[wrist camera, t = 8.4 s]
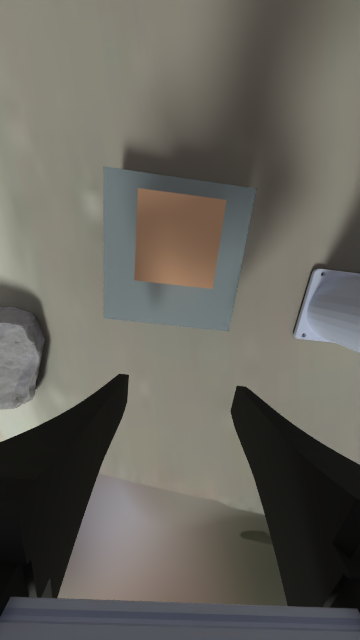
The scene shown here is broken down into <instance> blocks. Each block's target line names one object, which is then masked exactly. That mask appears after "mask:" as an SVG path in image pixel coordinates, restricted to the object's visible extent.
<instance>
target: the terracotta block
mask: <svg viewBox="0 0 360 640" xmlns="http://www.w3.org/2000/svg"><path fill="white" fill-rule="evenodd" d="M225 206H226V200H223V199H216V198H208V197H201V196H193V195H186V194H178V193H171V192H164V191H156V190H149V189H141V188H138V197H137V223H136V249H135V274H134V280H136V281H145V282H154V283H163V284H172V285H181V286H190V287H200V288H209V289H213V284H214V278H215V271H216V265H217V258H218V252H219V245H220V239H221V232H222V226H223V219H224V213H225Z"/></svg>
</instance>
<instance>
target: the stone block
mask: <svg viewBox="0 0 360 640" xmlns="http://www.w3.org/2000/svg"><path fill="white" fill-rule="evenodd" d="M44 343H45V337H44V336H43V333H42V331H41V328H40V326H39V324H38V321H37V319H36V317H35V316H34V314H33V313H31V312H29V311H24V310H21V309H19V308H16V307H12V306H9V307H0V409H14V408H17V407H19V406H20V405H21V404H25V403H26V402H28V401H30V400H32V399H33V397H34V395H35V388H36V379H37V377H38V373H39V366H40V364H41V357H42V354H43V346H44Z"/></svg>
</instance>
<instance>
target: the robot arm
mask: <svg viewBox="0 0 360 640" xmlns="http://www.w3.org/2000/svg"><path fill="white" fill-rule="evenodd" d="M321 273H323V275H322V276H321ZM303 333H304V335H303V336H302V334H303ZM294 337H296V338H298V339H306V340H316V341H326V342H335V343H337V344H339V345H342V346H344V347H347V348H349V349H351V350H354V351H356V352H359V353H360V274H359V273H351V272H343V271H335V270H327V269H315V270H313V272H312V274H311V278H310V281H309V284H308V288H307V291H306V294H305V298H304V301H303V304H302V308H301V311H300V314H299V318H298V321H297V324H296V328H295V331H294ZM128 379H129V375H126V374H119V375H117V376H116V377H115V378H113V379H112V380H111V381H109V382H108V383H107V384H106V385H104V386H103V387H102V388H100V389H99V390H98V391H96V392H95V393H94V394H92V395H91V396H89V397H88V398H87V399H85V400H84V401H82V402H81V403H79V404H78V405H76V406H74V407H73V408H71V409H69V410H67V411H66V412H64V413H62V414H60V415H59V416H57V417H55V418H53V419H51V420H49V421H47V422H45V423H43V424H41V425H39V426H37V427H35V428H33V429H30V430H28V431H26V432H24V433H21V434H19V435H17V436H14V437H12V438H10V439H7V440H5V441H2V442H0V640H360V465H359V464H357V463H355V462H353V461H352V460H350V459H348V458H346V457H344V456H343V455H341V454H339V453H337V452H336V451H334V450H332V449H330V448H329V447H327V446H325V445H324V444H322V443H320V442H319V441H317V440H316V439H314V438H313V437H311V436H310V435H308V434H307V433H305V432H304V431H302V430H301V429H299V428H298V427H296V426H295V425H293V424H292V423H291V422H289V421H288V420H287V419H285V418H284V417H283V416H281V415H280V414H279V413H278V412H276V411H275V410H274V409H273V408H271V407H270V406H269V405H268V404H266V403H265V402H264V401H263V400H262V399H260V398H259V397H258V396H257V395H256V394H254V393H253V392H252V391H251V390H249V389H248V388H247V387H243V386H237V387H236V391H235V395H234V399H233V403H232V408H231V415H232V419H233V423H234V426H235V429H236V432H237V435H238V437H239V440H240V442H241V445H242V447H243V450H244V452H245V455H246V457H247V460H248V462H249V465H250V468H251V470H252V473H253V476H254V479H255V482H256V486H257V489H258V492H259V496H260V499H261V502H262V506H263V510H264V513H265V517H266V520H267V524H268V527H269V531H270V535H271V539H272V543H273V547H274V550H275V554H276V558H277V562H278V567H279V570H280V575H281V579H282V583H283V588H284V592H285V596H286V600H287V605H288V606H266V605H238V604H209V603H207V604H206V603H178V602H150V601H149V602H148V601H120V600H90V599H62V598H60V599H59V598H57V596H58V594H59V590H60V587H61V584H62V581H63V578H64V575H65V572H66V569H67V565H68V562H69V559H70V556H71V553H72V550H73V546H74V543H75V540H76V537H77V534H78V531H79V528H80V525H81V522H82V519H83V516H84V513H85V510H86V507H87V504H88V501H89V499H90V496H91V492H92V489H93V487H94V484H95V481H96V478H97V476H98V473H99V470H100V467H101V464H102V462H103V460H104V457H105V455H106V452H107V450H108V448H109V446H110V444H111V441H112V439H113V437H114V435H115V432H116V430H117V428H118V426H119V423H120V421H121V419H122V416H123V413H124V410H125V407H126V404H127V396H128Z"/></svg>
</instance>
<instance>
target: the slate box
mask: <svg viewBox="0 0 360 640" xmlns="http://www.w3.org/2000/svg"><path fill="white" fill-rule="evenodd" d="M138 188H141V189H149V190H156V191H164V192H171V193H178V194H186V195H193V196H201V197H208V198H216V199H223V200H226V206H225V213H224V219H223V226H222V232H221V239H220V245H219V252H218V258H217V265H216V271H215V278H214V284H213V289H209V288H200V287H190V286H181V285H172V284H163V283H154V282H145V281H136V280H134V274H135V249H136V223H137V197H138ZM256 189H257V188H250V187H243V186H236V185H229V184H222V183H215V182H208V181H201V180H194V179H187V178H180V177H173V176H166V175H159V174H152V173H145V172H139V171H132V170H125V169H118V168H111V167H104V318H105V319H115V320H125V321H134V322H144V323H154V324H163V325H173V326H182V327H192V328H202V329H211V330H221V331H229V327H230V322H231V317H232V312H233V307H234V302H235V297H236V292H237V287H238V281H239V276H240V271H241V266H242V261H243V256H244V251H245V246H246V241H247V235H248V230H249V225H250V220H251V215H252V210H253V205H254V200H255V195H256Z"/></svg>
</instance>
